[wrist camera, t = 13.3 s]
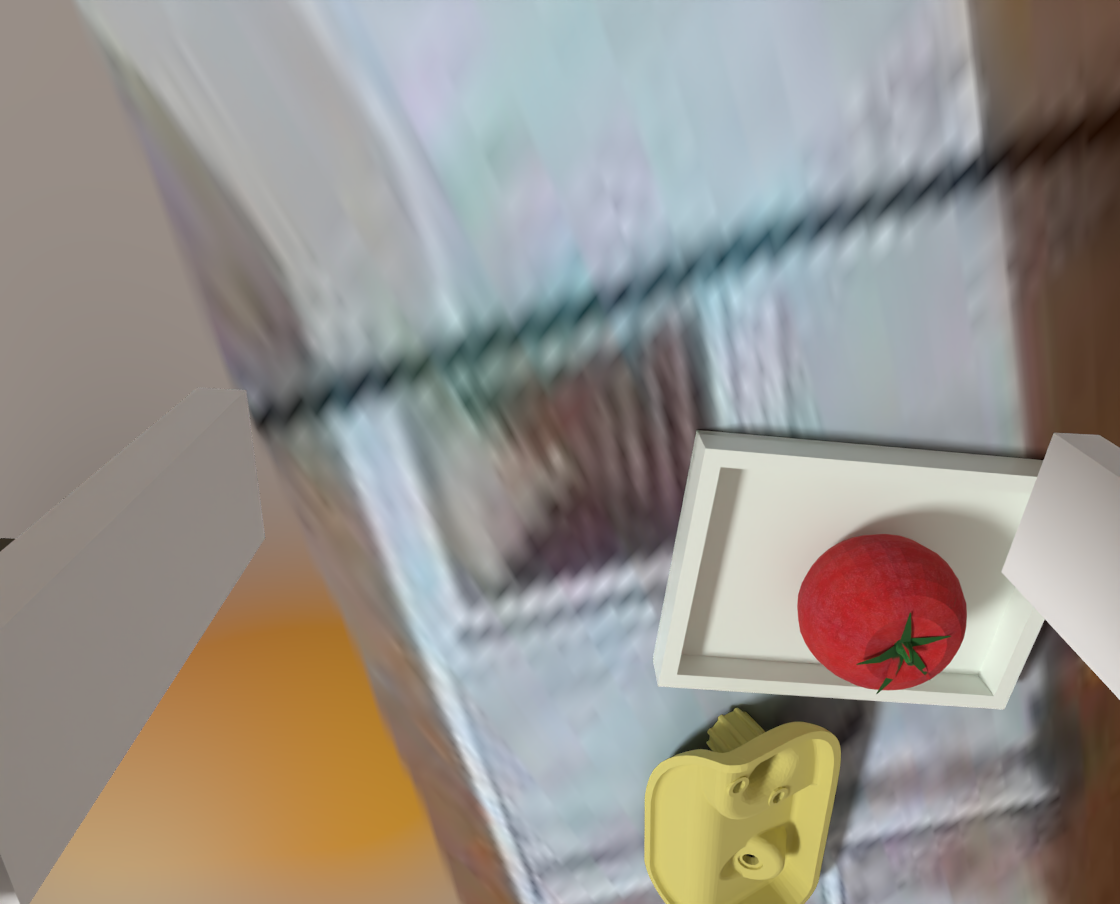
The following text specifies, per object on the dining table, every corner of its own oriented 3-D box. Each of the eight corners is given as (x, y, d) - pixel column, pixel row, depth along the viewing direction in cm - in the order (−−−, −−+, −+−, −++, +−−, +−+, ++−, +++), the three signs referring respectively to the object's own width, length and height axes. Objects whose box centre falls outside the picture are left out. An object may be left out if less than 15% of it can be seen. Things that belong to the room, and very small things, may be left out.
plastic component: (814, 900, 55) (703, 971, 51) (748, 819, 61) (644, 878, 57) (852, 707, 45) (718, 778, 42) (769, 634, 51) (645, 690, 47)
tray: (696, 429, 42) (705, 448, 39) (1076, 463, 43) (1106, 482, 41) (652, 659, 48) (657, 686, 46) (983, 681, 49) (1004, 709, 47)
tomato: (835, 657, 48) (887, 755, 40) (751, 571, 45) (790, 661, 38) (957, 576, 45) (1036, 665, 38) (876, 480, 42) (944, 557, 35)
